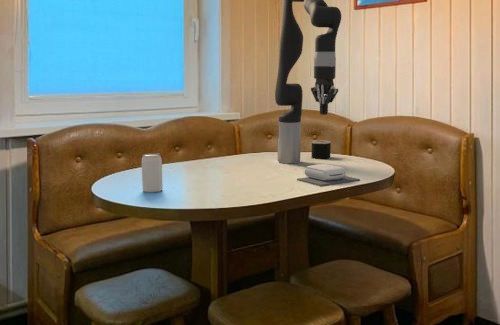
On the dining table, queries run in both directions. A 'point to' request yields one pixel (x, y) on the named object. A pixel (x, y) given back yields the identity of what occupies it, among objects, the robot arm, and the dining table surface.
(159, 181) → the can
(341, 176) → the photo printer
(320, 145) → the sushi
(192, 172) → the dining table surface
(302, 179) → the mat
